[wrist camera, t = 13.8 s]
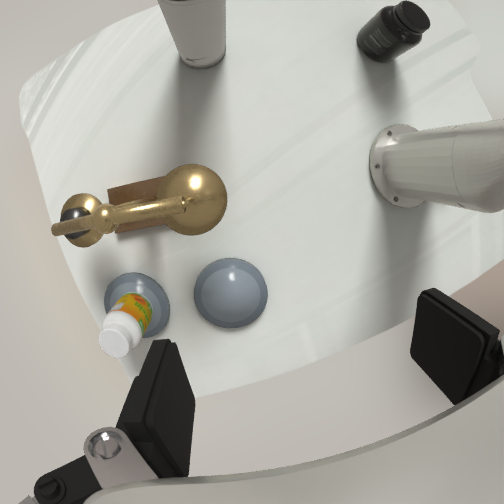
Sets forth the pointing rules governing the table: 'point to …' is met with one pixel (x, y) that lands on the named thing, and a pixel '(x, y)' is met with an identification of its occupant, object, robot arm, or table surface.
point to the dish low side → (146, 288)
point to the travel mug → (197, 29)
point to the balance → (147, 206)
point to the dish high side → (230, 293)
